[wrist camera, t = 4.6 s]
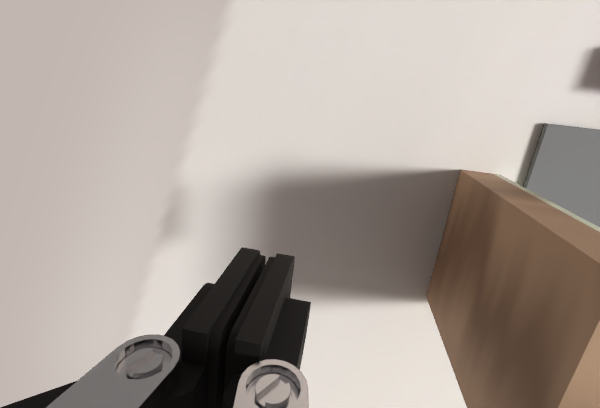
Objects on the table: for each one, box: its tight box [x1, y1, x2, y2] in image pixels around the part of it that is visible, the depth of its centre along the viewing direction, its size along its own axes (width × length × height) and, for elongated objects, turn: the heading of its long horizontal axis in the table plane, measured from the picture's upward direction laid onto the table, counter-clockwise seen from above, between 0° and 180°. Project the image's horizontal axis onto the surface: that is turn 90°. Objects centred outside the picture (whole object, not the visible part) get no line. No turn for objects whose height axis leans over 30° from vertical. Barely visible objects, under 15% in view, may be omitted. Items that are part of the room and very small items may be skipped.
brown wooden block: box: [426, 170, 600, 408], centre depth 12 cm, size 7×2×10 cm, turn 174°
